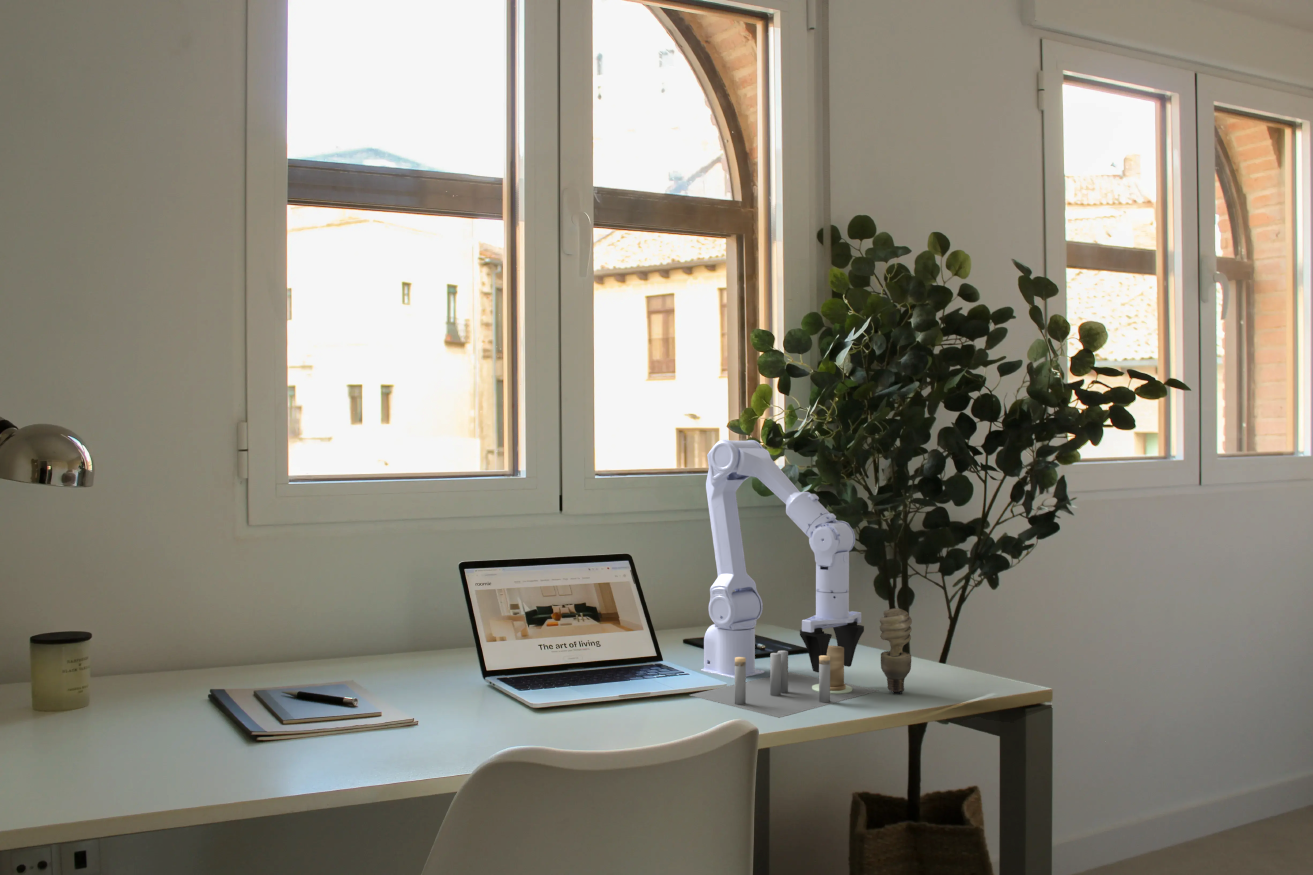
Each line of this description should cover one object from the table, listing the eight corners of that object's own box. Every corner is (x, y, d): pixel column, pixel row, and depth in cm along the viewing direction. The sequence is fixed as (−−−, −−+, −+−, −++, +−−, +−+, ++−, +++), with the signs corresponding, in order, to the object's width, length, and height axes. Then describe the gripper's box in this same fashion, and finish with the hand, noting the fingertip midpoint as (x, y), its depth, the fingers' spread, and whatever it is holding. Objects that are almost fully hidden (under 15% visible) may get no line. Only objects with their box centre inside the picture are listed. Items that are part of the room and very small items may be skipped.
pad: (803, 688, 181) (803, 687, 181) (828, 682, 185) (828, 681, 185) (836, 696, 176) (836, 694, 176) (860, 689, 180) (860, 687, 180)
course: (688, 697, 176) (688, 650, 176) (789, 674, 194) (790, 632, 195) (779, 719, 161) (779, 669, 161) (879, 692, 180) (879, 647, 180)
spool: (835, 691, 177) (835, 651, 177) (813, 687, 180) (813, 647, 181) (851, 687, 180) (851, 647, 180) (829, 683, 184) (829, 644, 184)
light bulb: (912, 699, 175) (912, 611, 175) (879, 698, 176) (879, 610, 176) (911, 692, 180) (911, 606, 180) (879, 690, 181) (879, 605, 181)
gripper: (825, 597, 173) (825, 678, 173) (875, 589, 183) (875, 666, 183) (792, 592, 178) (792, 671, 178) (843, 585, 188) (843, 660, 188)
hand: (832, 668), depth 180 cm, fingers open, 7 cm apart
